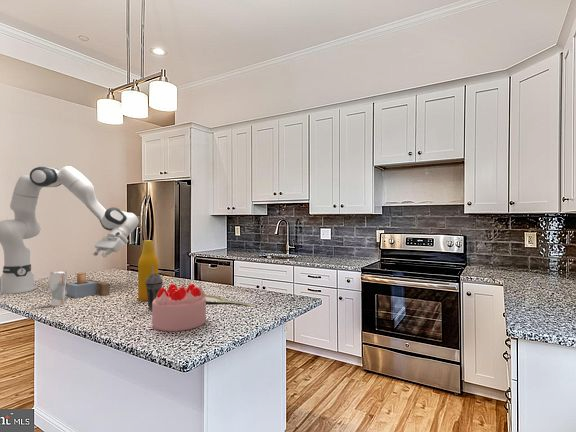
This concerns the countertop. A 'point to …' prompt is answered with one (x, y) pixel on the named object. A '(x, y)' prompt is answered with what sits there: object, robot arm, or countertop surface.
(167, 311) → the cake
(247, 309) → the countertop surface
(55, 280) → the beer glass
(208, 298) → the spoon
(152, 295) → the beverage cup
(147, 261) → the beer bottle
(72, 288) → the socket block
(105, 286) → the backstop wall
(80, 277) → the dowel
